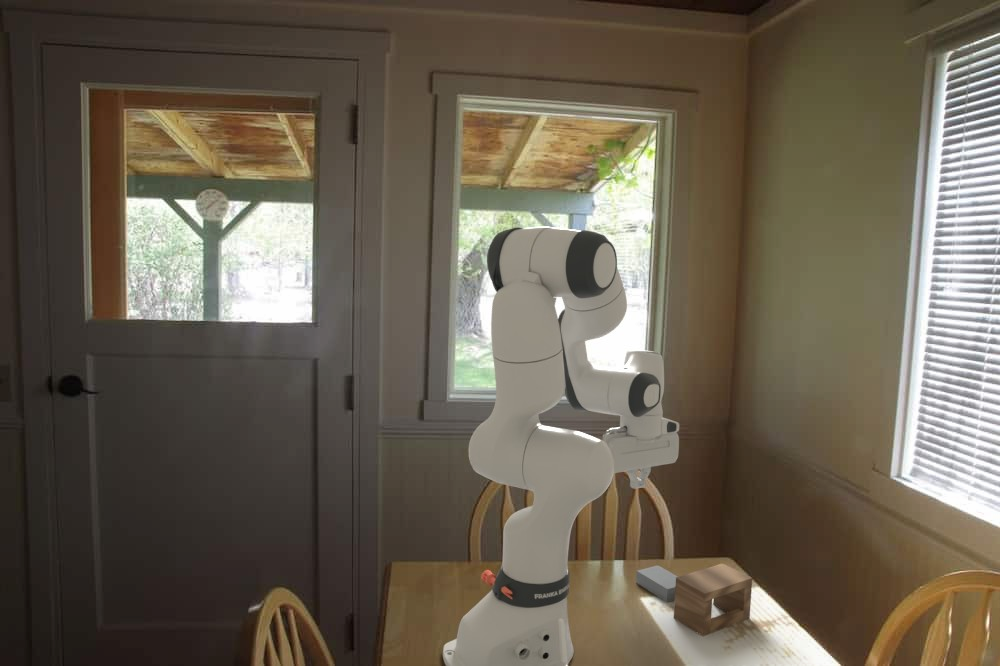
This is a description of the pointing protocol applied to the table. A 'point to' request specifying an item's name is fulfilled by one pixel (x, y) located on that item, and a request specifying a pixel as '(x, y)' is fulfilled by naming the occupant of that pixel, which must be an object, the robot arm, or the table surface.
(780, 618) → the table surface
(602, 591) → the table surface
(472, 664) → the robot arm
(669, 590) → the grey rectangular block
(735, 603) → the shelf
